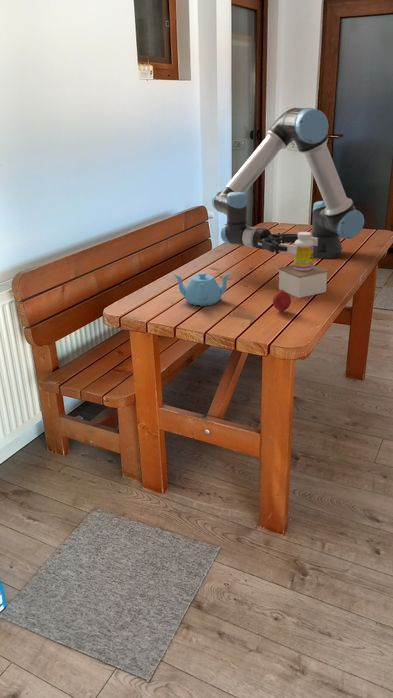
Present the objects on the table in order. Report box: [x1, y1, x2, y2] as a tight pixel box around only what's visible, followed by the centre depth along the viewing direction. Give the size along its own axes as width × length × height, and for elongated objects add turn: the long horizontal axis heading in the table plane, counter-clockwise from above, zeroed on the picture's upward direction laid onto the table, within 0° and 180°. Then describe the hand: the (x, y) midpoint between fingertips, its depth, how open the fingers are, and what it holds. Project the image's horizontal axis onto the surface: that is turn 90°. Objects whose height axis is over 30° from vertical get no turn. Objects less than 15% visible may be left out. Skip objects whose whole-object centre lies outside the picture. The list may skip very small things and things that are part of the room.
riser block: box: [278, 264, 329, 299], centre depth 207 cm, size 12×12×8 cm
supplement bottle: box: [293, 231, 314, 271], centre depth 202 cm, size 7×7×13 cm
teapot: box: [173, 271, 232, 307], centre depth 200 cm, size 15×15×10 cm
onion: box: [272, 289, 292, 313], centre depth 187 cm, size 6×6×8 cm
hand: (306, 245), depth 201 cm, fingers open, 13 cm apart
